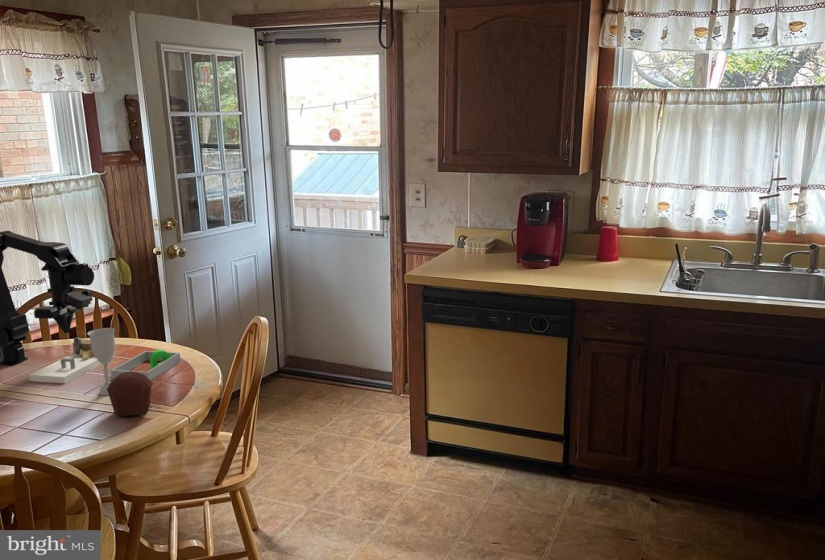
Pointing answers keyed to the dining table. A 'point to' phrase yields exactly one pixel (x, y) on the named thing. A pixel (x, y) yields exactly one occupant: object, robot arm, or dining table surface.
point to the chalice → (103, 351)
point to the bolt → (79, 349)
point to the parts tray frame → (143, 357)
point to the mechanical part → (156, 355)
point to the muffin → (130, 393)
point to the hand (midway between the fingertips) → (66, 332)
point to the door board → (67, 367)
